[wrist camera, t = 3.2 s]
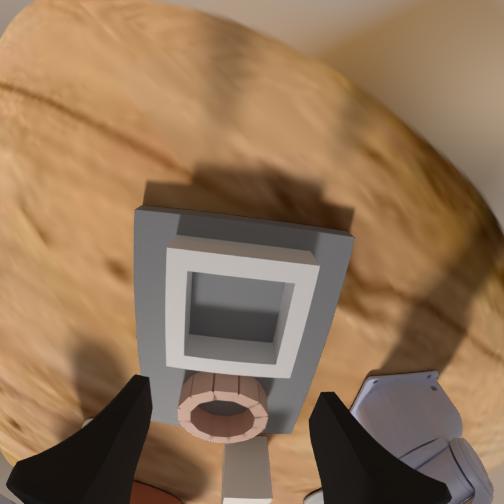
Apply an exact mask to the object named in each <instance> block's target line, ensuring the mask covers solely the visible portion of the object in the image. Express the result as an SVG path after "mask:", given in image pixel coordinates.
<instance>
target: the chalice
mask: <svg viewBox="0 0 504 504" xmlns="http://www.w3.org/2000/svg"><path fill="white" fill-rule="evenodd" d="M303 504H324V500H323V491H322V490H320V491H317V492H315V493H313V494H311V495H309V496H308V497H307V498H305V499H304V501H303Z"/></svg>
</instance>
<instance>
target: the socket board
mask: <svg viewBox="0 0 504 504" xmlns="http://www.w3.org/2000/svg"><path fill="white" fill-rule="evenodd" d="M354 239H355V237H354V236H352V235H351V234H350V233H349V232H348V231H343V230H336V229H330V228H323V227H316V226H310V225H303V224H296V223H289V222H281V221H274V220H267V219H259V218H252V217H244V216H236V215H228V214H219V213H211V212H202V211H193V210H184V209H175V208H166V207H156V206H146V205H142V206H140V207H138V208H137V209H135V217H134V294H135V315H136V330H137V342H138V353H139V363H140V372H141V376H146V377H149V378H150V388H151V396H152V405H153V410H152V415H151V420H150V421H155V422H161V423H166V424H172V425H178V426H183V427H184V428H185V429H186V430H187V431H188V433H191V435H194V436H196V437H198V438H201V439H203V440H206V441H209V440H210V442H217V443H228V444H229V442H230V443H236V442H241V441H245V440H249V438H250V439H252V438H253V437H255V436H256V435H258V434H259V433H270V434H291V433H292V430H293V428H294V425H295V423H296V421H297V418H298V416H299V413H300V411H301V408H302V406H303V403H304V401H305V398H306V395H307V393H308V390H309V388H310V385H311V382H312V379H313V377H314V374H315V371H316V368H317V366H318V363H319V360H320V357H321V354H322V351H323V348H324V345H325V342H326V339H327V336H328V333H329V330H330V326H331V323H332V320H333V317H334V313H335V310H336V307H337V303H338V300H339V296H340V293H341V289H342V286H343V282H344V279H345V275H346V271H347V267H348V263H349V259H350V255H351V251H352V247H353V243H354Z"/></svg>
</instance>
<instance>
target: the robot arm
mask: <svg viewBox="0 0 504 504" xmlns="http://www.w3.org/2000/svg"><path fill="white" fill-rule="evenodd" d="M438 375H439V372H438V371H428V372H420V373H410V374H398V375H385V376H370V377H368V378H367V379H366V380H365V382H364V384H363V386H362V388H361V390H360V392H359V394H358V396H357V398H356V400H355V402H354V404H353V406H352V408H351V410H350V411H349V410H348V409H347V407H346V406H345V405H344V404H343V402H342V401H341V400H340V399H339V397H338V396H337V395H336V394H335V392H321V393H320V396H319V398H318V400H317V403H316V405H315V407H314V410H313V412H312V414H311V416H310V419H309V430H310V438H311V444H312V448H313V452H314V456H315V460H316V463H317V467H318V471H319V475H320V479H321V484H322V491H323V500H324V504H461V503H462V502H463V503H462V504H491V502H492V500H493V492H494V489H493V485H492V483H491V481H490V479H489V478H488V474H487V472H486V470H485V468H484V466H483V464H482V462H481V460H480V459H479V457H478V455H477V454H476V452H475V451H474V449H473V448H472V447H471V445H470V444H469V443H468V442H467V440H466V439H464V438H461V435H462V420H461V416H460V414H459V412H458V410H457V409H456V407H455V406H454V405H453V403H452V402H451V400H450V399H449V397H448V396H447V394H446V393H445V391H444V390H443V389H442V387H441V386H440V384H439V383H438V382H437V380H436V379H437V377H438ZM152 410H153V405H152V396H151V388H150V378H149V377H146V376H141V375H136V374H135V375H134V376H133V377H132V378H131V379H130V381H129V382H128V383H127V384H126V385H125V387H124V388H123V389H122V390H121V391H120V392H119V394H118V395H117V396H116V397H115V398H114V399H113V400H112V401H111V402H110V403H109V404H108V405H107V406H106V407H105V408H104V409H103V410H102V411H101V412H100V413H99V414H98V415H97V416H96V417H95V418H94V419H92V420H91V421H90V422H89V423H88V424H87V425H85V426H84V427H83V428H81V429H80V430H79V431H77V432H76V433H75V434H73V435H72V436H70V437H69V438H67V439H66V440H64V441H62V442H61V443H59V444H57V445H55V446H53V447H52V448H50V449H48V450H46V451H44V452H42V453H39V454H37V455H34V456H32V457H29V458H26V459H24V460H21V461H18V462H17V463H16V465H15V466H14V468H13V470H12V472H11V474H10V476H9V478H8V481H7V483H6V486H7V488H8V489H9V490H10V491H11V492H12V493H13V494H14V495H15V496H17V497H18V498H19V499H20V500H21V501H22V502H23V503H24V504H130V498H131V491H132V485H133V479H134V474H135V470H136V466H137V463H138V460H139V457H140V454H141V451H142V448H143V445H144V442H145V439H146V435H147V432H148V429H149V425H150V420H151V415H152ZM468 498H469V499H468ZM466 499H468V500H466ZM465 500H466V501H465ZM464 501H465V502H464ZM0 504H16V503H14V502H13V501H11V500H9V499H8V498H6V497H4V496H3V495H1V494H0Z"/></svg>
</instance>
